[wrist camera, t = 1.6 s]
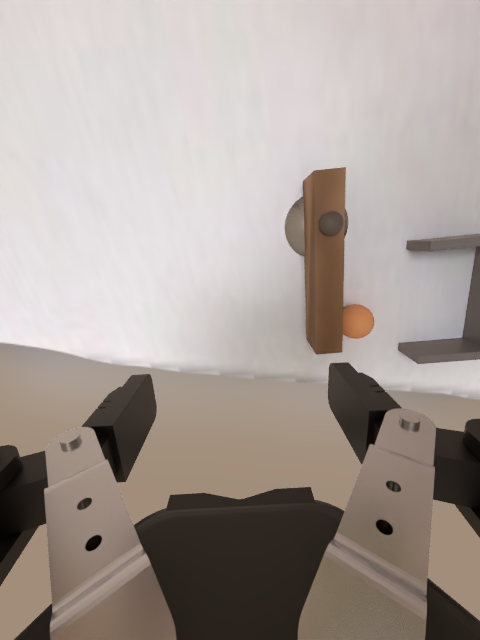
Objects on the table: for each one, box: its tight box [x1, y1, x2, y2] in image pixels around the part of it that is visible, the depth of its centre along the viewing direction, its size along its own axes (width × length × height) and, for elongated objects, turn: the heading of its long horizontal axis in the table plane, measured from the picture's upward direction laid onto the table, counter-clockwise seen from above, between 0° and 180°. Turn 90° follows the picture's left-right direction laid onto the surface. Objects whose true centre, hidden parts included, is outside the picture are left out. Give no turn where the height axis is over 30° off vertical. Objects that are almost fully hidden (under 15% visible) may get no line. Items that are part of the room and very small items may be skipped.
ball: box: [343, 305, 374, 338], centre depth 27 cm, size 3×3×3 cm
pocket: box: [398, 234, 480, 364], centre depth 26 cm, size 8×12×4 cm, turn 5°
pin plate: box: [285, 196, 348, 256], centre depth 26 cm, size 6×6×1 cm
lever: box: [303, 167, 346, 354], centre depth 25 cm, size 2×16×5 cm, turn 5°
